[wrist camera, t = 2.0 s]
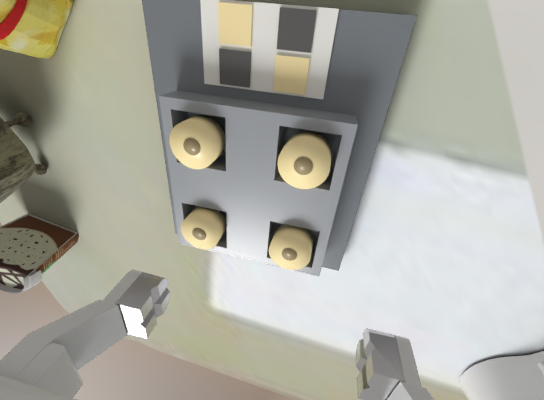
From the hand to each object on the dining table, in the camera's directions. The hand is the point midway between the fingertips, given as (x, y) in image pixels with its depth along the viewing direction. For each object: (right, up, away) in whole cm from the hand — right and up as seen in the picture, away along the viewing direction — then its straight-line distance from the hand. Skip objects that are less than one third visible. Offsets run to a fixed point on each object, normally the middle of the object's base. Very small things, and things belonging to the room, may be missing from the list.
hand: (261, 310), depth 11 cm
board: (0, +10, +19) cm, 21 cm away
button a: (+3, 0, +19) cm, 19 cm away
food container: (-37, -2, +36) cm, 52 cm away
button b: (-7, +2, +20) cm, 21 cm away
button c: (+4, +9, +13) cm, 16 cm away
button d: (-6, +10, +15) cm, 19 cm away
